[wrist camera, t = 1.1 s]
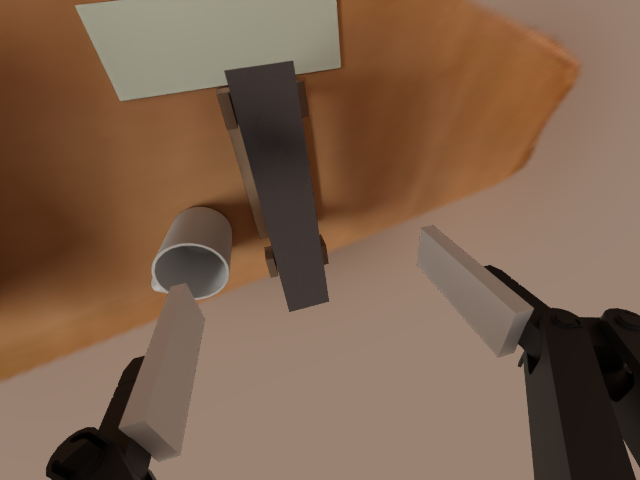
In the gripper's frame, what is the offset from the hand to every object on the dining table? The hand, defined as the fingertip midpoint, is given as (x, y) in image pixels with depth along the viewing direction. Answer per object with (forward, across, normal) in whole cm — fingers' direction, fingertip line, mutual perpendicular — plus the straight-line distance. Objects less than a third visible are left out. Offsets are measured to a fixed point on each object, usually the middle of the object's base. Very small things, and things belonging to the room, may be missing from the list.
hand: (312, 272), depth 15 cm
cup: (+21, -12, -7) cm, 26 cm away
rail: (+13, 0, 0) cm, 13 cm away
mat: (+21, -2, +13) cm, 25 cm away
